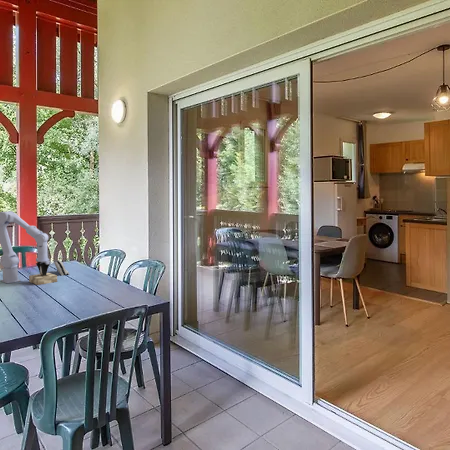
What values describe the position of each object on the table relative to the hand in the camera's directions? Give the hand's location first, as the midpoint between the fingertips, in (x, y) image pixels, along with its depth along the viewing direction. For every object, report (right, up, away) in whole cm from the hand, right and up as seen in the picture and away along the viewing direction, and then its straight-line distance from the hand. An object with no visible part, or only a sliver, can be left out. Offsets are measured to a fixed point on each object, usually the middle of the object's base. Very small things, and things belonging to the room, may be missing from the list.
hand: (43, 274), depth 236 cm
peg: (0, -3, 0) cm, 3 cm away
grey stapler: (0, -3, +26) cm, 26 cm away
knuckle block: (0, -5, 0) cm, 5 cm away
